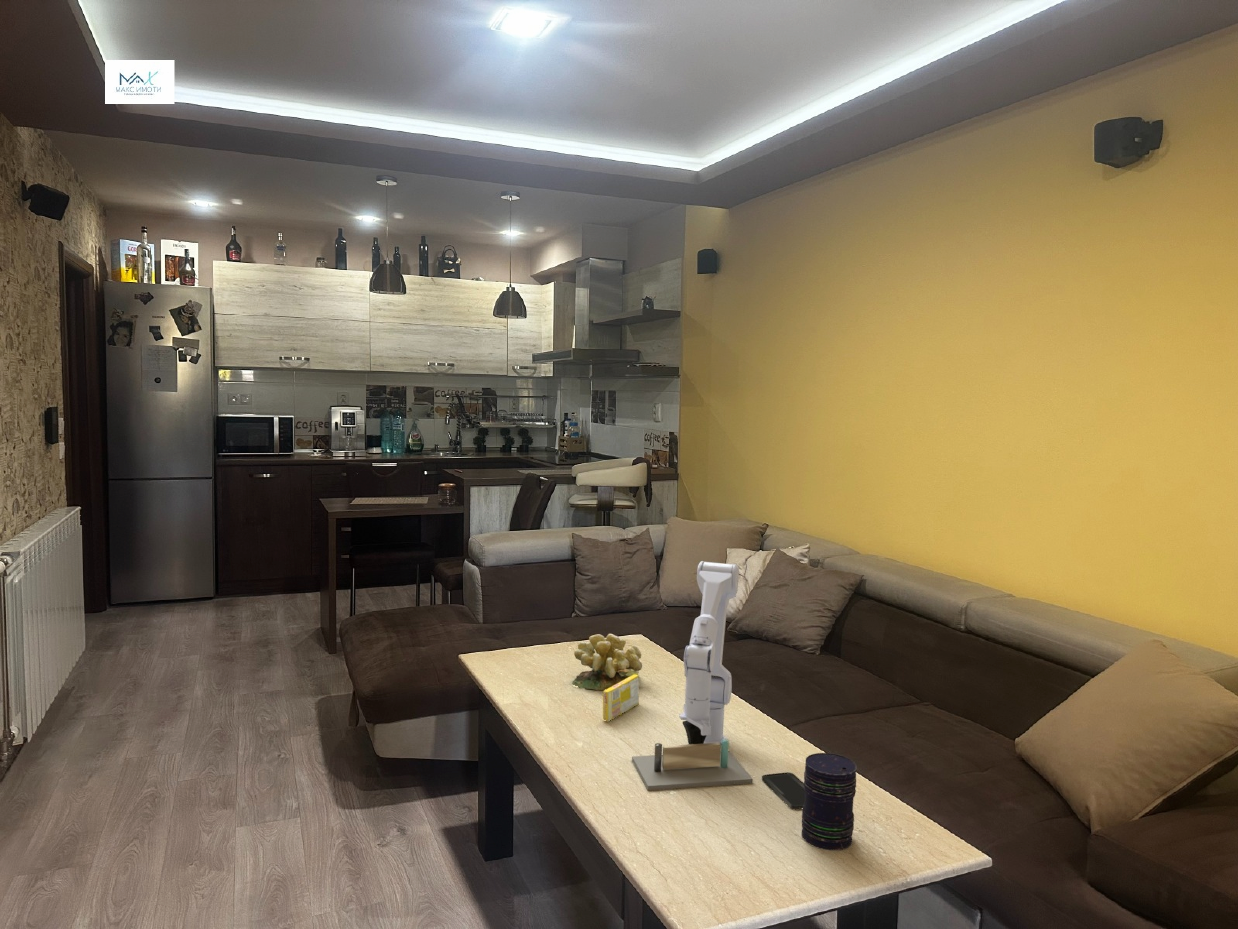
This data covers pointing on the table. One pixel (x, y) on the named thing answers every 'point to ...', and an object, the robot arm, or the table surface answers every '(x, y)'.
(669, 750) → the gate
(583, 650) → the coral
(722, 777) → the gate board
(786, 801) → the phone
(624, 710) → the candy box
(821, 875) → the table surface
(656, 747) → the hinge post
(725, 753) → the latch post
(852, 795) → the storage jar
